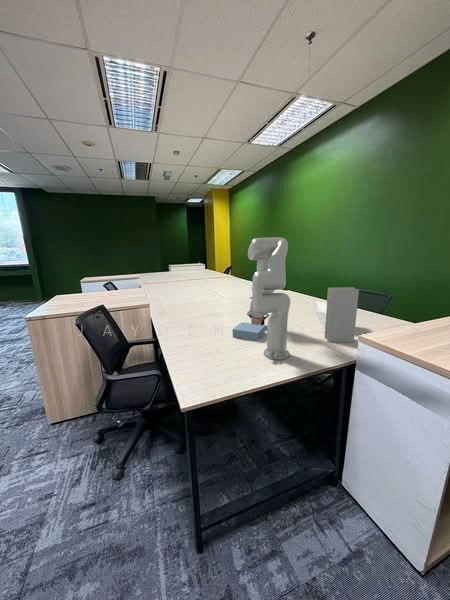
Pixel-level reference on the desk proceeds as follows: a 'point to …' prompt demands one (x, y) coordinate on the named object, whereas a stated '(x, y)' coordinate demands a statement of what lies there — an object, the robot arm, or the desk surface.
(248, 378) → the desk surface
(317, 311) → the folded paper
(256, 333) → the block
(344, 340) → the tall grey block
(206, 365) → the desk surface
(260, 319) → the stub
